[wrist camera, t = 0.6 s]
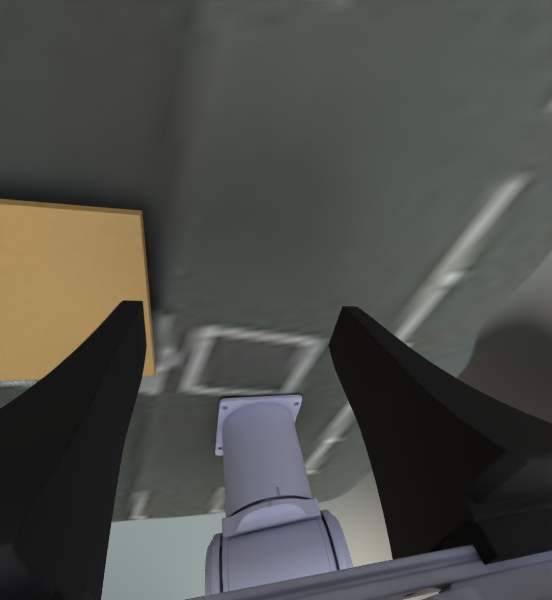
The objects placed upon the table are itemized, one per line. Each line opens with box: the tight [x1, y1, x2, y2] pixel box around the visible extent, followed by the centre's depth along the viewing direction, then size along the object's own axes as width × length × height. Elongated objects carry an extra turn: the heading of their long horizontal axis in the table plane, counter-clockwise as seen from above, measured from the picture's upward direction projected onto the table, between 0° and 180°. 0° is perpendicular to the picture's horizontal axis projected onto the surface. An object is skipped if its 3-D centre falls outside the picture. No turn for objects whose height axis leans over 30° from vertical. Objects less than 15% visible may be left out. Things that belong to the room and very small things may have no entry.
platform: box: [0, 199, 156, 381], centre depth 19 cm, size 12×12×2 cm
